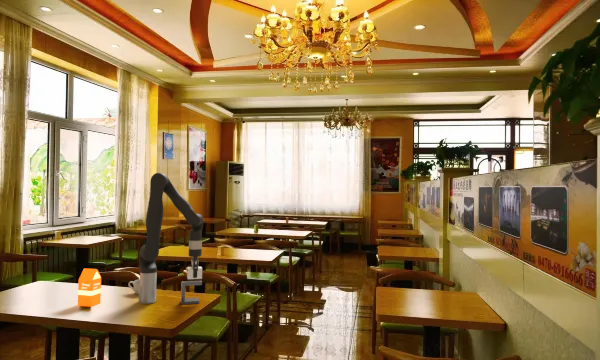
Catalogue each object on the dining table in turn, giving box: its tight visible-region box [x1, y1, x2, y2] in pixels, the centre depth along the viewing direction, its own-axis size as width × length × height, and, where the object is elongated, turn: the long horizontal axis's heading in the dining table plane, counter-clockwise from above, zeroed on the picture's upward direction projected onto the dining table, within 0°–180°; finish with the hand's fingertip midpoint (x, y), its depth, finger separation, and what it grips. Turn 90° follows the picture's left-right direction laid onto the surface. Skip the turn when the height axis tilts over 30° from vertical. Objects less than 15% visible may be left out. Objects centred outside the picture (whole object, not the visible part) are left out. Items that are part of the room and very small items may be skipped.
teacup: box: [127, 278, 140, 295], centre depth 266 cm, size 14×11×8 cm
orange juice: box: [77, 268, 102, 308], centre depth 239 cm, size 8×9×20 cm
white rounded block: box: [185, 266, 203, 280], centre depth 249 cm, size 9×6×6 cm
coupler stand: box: [180, 280, 203, 305], centre depth 249 cm, size 12×8×12 cm
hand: (194, 276), depth 250 cm, fingers closed on white rounded block, 6 cm apart
